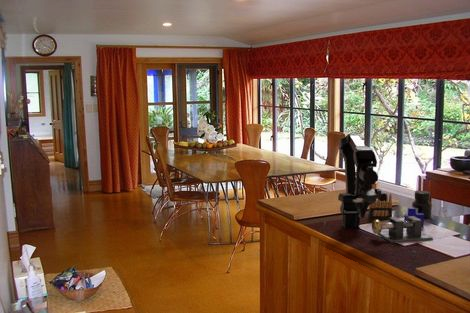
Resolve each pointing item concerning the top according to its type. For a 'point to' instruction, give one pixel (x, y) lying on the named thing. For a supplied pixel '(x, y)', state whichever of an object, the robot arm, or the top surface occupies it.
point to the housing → (405, 231)
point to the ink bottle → (422, 203)
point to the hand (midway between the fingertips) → (362, 217)
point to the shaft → (387, 226)
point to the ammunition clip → (385, 209)
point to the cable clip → (413, 213)
